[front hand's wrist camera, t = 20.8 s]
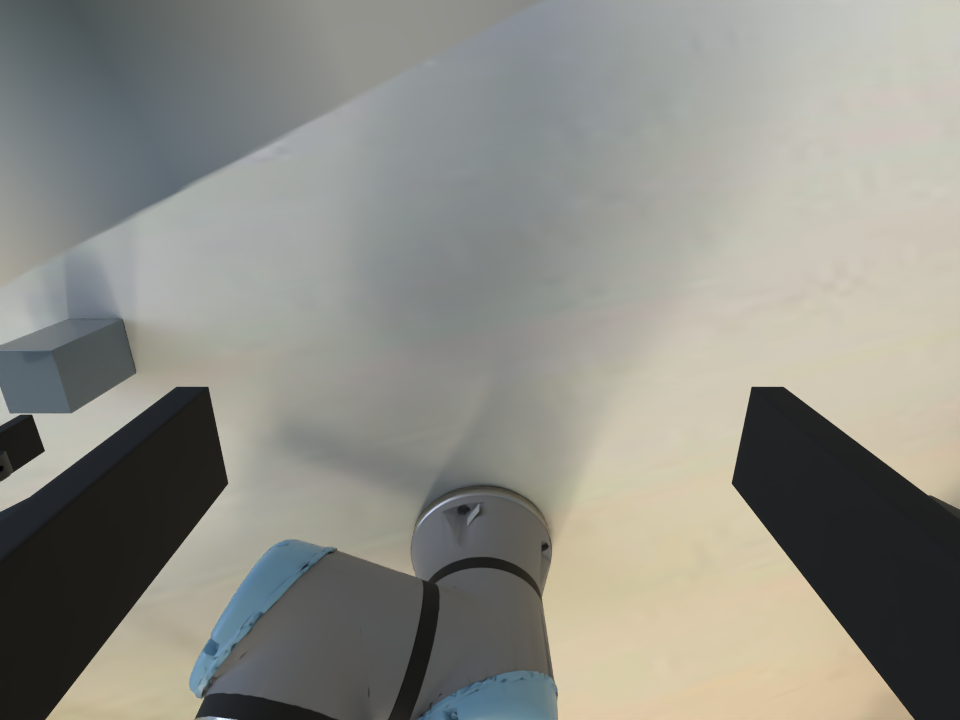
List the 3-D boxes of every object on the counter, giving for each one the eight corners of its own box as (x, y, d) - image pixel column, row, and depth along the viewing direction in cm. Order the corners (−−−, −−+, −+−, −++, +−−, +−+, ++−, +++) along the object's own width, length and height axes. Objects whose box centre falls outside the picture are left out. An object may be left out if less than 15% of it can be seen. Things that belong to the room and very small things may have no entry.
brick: (122, 318, 48) (51, 350, 40) (136, 373, 50) (71, 413, 42) (67, 318, 48) (-14, 350, 40) (84, 373, 50) (9, 413, 42)
